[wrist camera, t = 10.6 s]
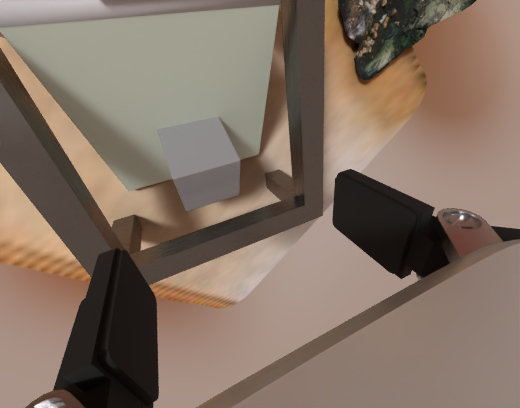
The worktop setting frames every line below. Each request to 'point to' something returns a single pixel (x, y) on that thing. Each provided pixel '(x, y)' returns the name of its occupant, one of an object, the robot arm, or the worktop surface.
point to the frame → (128, 229)
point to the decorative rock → (391, 27)
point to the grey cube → (201, 162)
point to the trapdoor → (148, 70)
